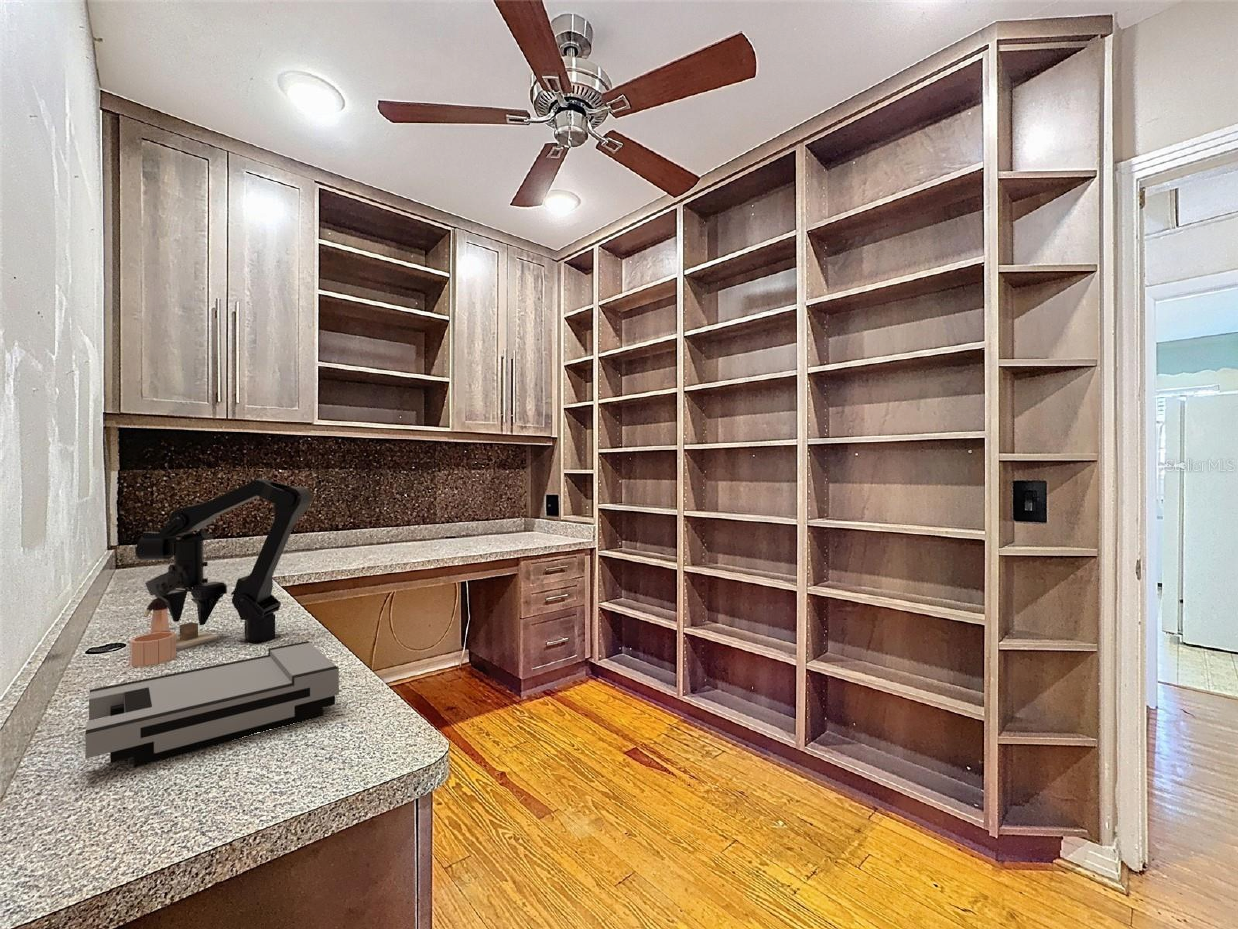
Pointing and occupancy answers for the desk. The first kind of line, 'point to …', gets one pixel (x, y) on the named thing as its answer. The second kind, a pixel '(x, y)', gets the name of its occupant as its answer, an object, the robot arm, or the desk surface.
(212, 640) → the mat
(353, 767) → the desk surface
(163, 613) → the grandmother figurine
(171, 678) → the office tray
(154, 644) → the bowl
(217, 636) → the lid
